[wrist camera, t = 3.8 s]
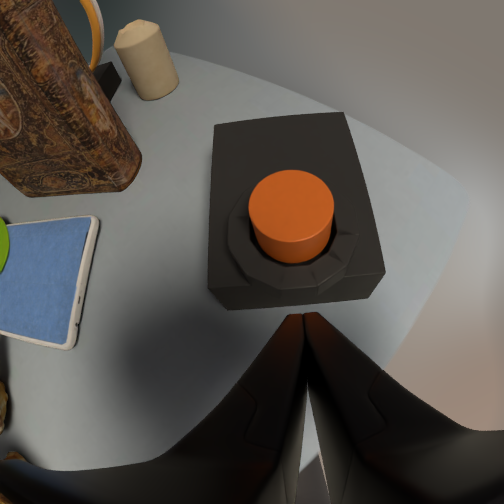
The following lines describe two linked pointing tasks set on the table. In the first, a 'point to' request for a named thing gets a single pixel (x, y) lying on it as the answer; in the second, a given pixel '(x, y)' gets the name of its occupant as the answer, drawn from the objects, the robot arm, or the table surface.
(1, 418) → the seashell
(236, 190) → the button base
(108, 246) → the table surface
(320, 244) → the power button
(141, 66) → the candle
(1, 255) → the decorative leaf
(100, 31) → the lamp
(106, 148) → the book
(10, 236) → the tablet
